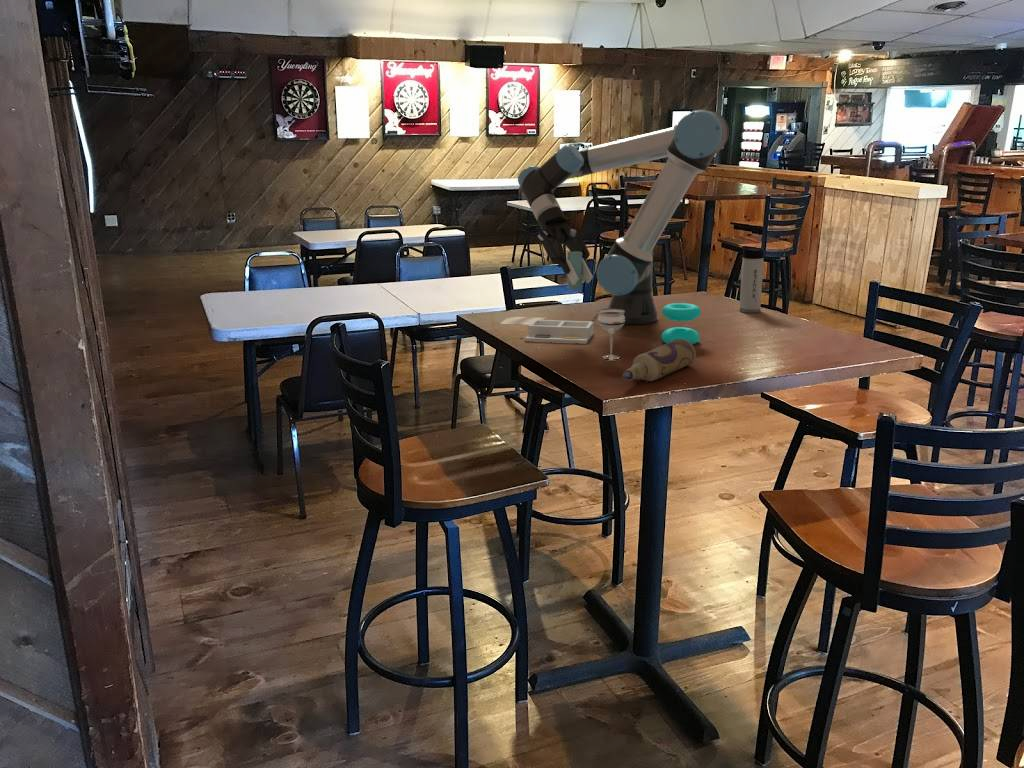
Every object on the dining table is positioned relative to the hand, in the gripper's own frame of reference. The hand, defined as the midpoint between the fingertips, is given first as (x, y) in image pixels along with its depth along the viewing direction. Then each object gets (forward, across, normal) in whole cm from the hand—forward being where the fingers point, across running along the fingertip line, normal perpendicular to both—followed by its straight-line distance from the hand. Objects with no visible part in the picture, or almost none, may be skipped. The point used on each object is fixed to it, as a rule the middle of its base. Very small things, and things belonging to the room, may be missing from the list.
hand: (582, 280), depth 224 cm
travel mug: (+12, -63, -11) cm, 65 cm away
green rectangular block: (-1, 0, -5) cm, 5 cm away
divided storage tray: (+8, +4, -15) cm, 17 cm away
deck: (-7, +4, -30) cm, 30 cm away
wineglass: (+26, +6, +3) cm, 27 cm away
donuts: (+25, -19, +1) cm, 31 cm away
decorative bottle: (+39, +7, +15) cm, 42 cm away
